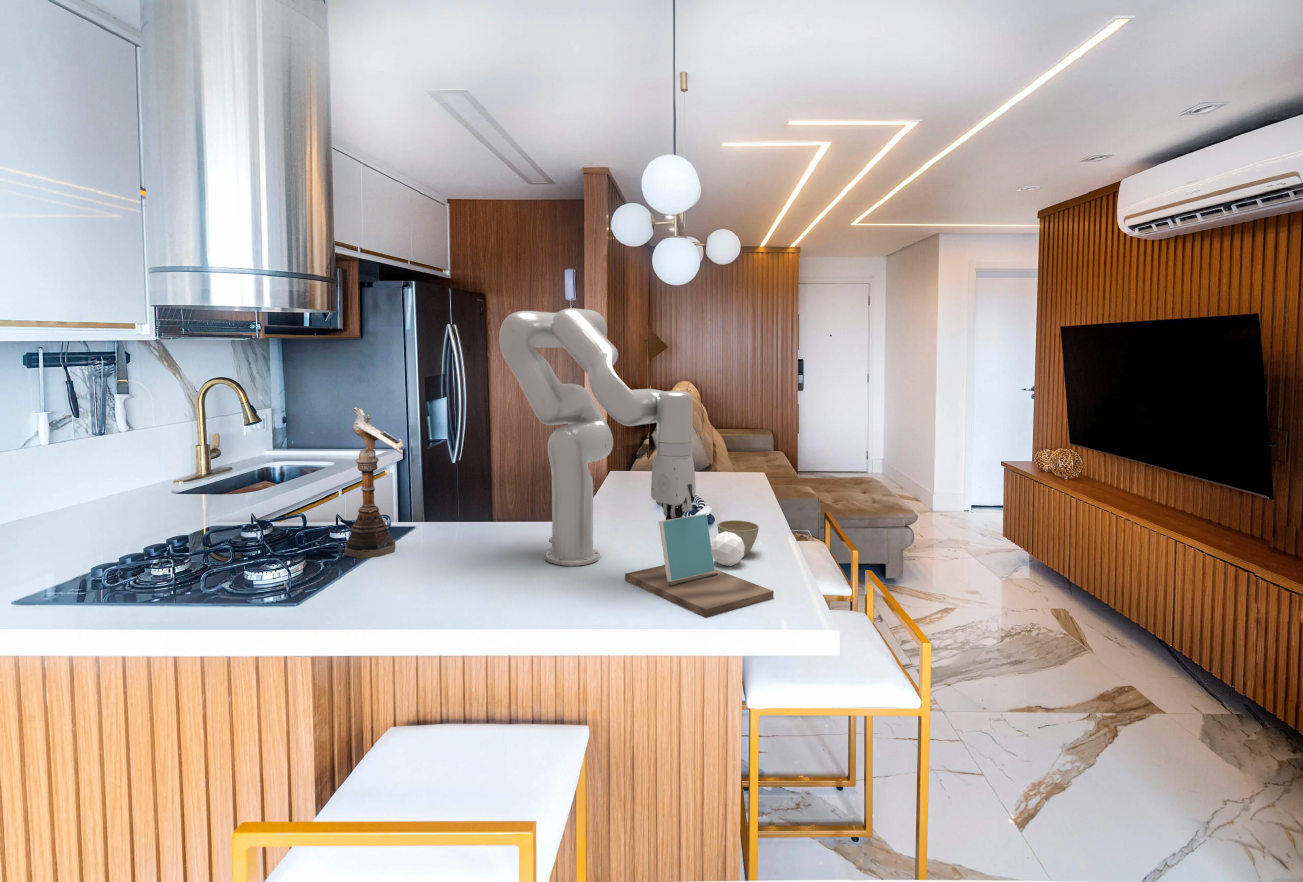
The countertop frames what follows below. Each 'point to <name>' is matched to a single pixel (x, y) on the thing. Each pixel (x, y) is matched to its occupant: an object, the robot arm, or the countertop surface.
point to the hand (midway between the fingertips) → (673, 534)
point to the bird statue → (370, 496)
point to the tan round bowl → (741, 531)
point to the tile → (686, 547)
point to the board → (701, 590)
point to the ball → (727, 548)
